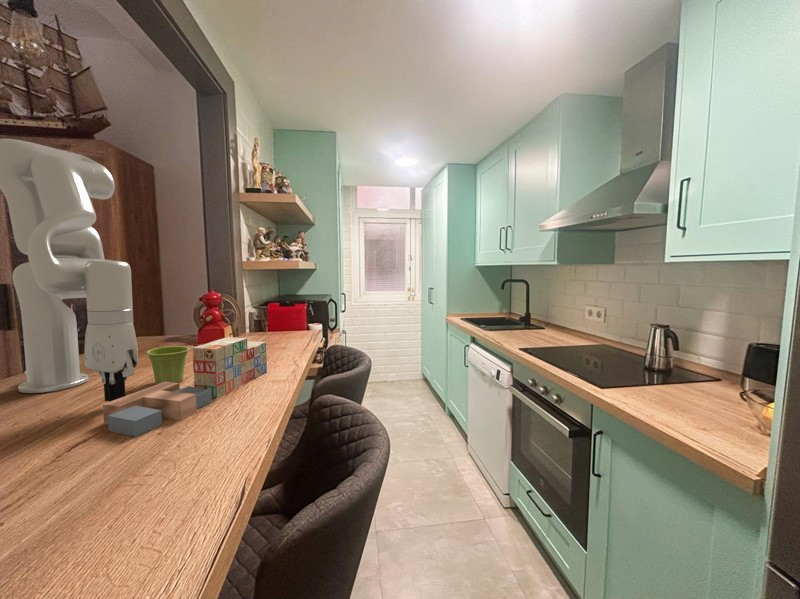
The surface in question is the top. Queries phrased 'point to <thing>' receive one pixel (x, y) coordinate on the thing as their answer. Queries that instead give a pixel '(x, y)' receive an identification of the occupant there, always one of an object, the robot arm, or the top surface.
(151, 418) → the t dock
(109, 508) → the top surface
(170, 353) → the plant pot
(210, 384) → the stack of blocks
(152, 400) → the t block
